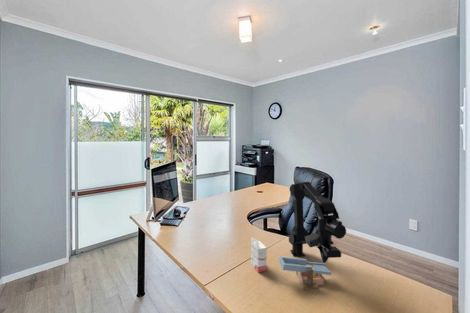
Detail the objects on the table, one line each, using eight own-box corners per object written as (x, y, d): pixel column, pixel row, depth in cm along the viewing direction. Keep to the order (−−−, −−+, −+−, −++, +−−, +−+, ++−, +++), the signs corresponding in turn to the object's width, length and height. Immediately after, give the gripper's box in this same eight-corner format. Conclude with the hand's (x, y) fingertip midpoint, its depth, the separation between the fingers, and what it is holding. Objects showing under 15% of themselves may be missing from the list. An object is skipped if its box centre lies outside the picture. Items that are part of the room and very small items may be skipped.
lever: (323, 266, 106) (324, 260, 105) (331, 275, 98) (332, 269, 98) (278, 261, 104) (279, 256, 104) (283, 270, 97) (284, 264, 97)
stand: (308, 272, 108) (308, 257, 107) (318, 288, 96) (318, 271, 96) (295, 273, 107) (296, 257, 107) (304, 289, 96) (304, 271, 95)
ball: (306, 274, 103) (310, 267, 103) (311, 277, 104) (316, 271, 104) (308, 278, 100) (313, 272, 100) (315, 282, 100) (319, 276, 100)
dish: (317, 275, 106) (317, 269, 105) (324, 284, 98) (324, 278, 98) (297, 275, 105) (297, 270, 105) (302, 285, 98) (302, 279, 98)
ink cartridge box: (267, 270, 110) (267, 241, 108) (258, 273, 108) (258, 243, 107) (259, 261, 118) (259, 234, 116) (250, 263, 116) (250, 236, 115)
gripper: (300, 222, 109) (299, 252, 110) (315, 238, 91) (315, 275, 92) (322, 221, 110) (321, 252, 111) (342, 237, 91) (341, 274, 92)
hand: (324, 262), depth 101 cm, fingers closed
